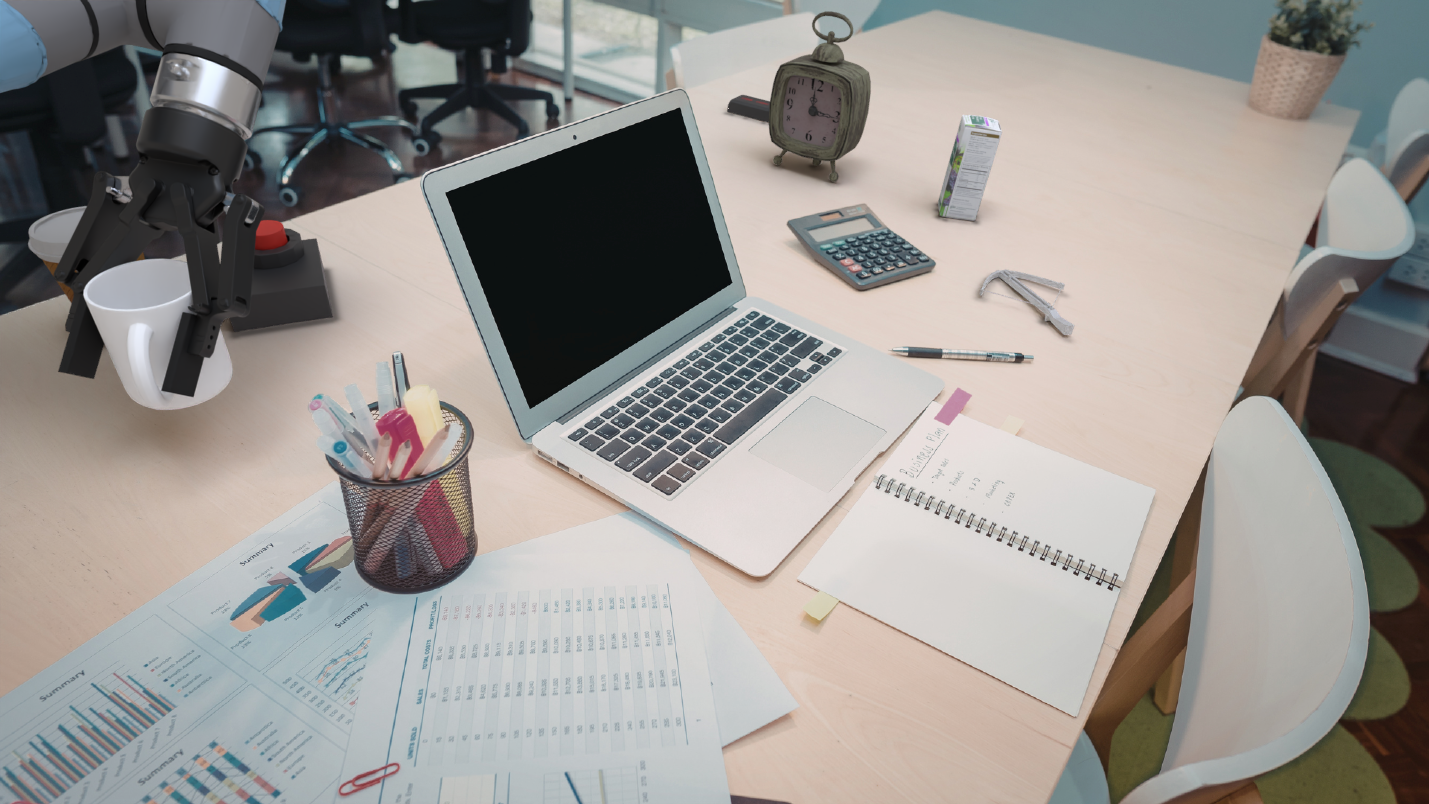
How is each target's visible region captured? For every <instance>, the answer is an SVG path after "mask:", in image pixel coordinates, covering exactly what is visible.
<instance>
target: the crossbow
mask: <svg viewBox="0 0 1429 804" xmlns="http://www.w3.org/2000/svg"><path fill="white" fill-rule="evenodd" d="M997 278H999V279H1001V280H1002V281H1004V282H1005V283H1006V284H1007V285H1009V286H1010V287H1011V288H1012V289H1013V290H1015V291H1016V292H1017V293H1019V294H1020V295H1021V296H1022V297H1023V298H1024V299H1026V300H1027V301H1025V300H1021V299H1019V298H1015V297H1010V296H1009V295H1004V294H1000V293H996V292H993V291H989V290H985V289H986V287H987V286H988V284H989V283H990V282H991V281H992V280H994V279H997ZM1019 279H1022V280H1027V281H1031V282H1035V283H1038V284H1041V285H1046V286H1049V287H1052V288H1054V289H1057V290H1058V289H1059V291H1058V293H1057V296H1056V298H1055V299H1054V302H1053V303H1052V305H1051V303H1050V302H1048V301H1047V300H1045V298H1042V297H1041V296H1040V295H1039V294H1037V293H1036V292H1035V291H1033V290H1032V288H1029V287H1028V286H1027V285H1026V284H1025V283H1023V282H1022V281H1020V280H1019ZM1065 286H1066V284H1065V283H1063V282H1058V281H1055V280H1052V279H1049V278H1045V277H1042V276H1038V275H1034V274H1030V273H1026V272H1021V271H1018V270H1010V269H1000V270H999V269H997V270H995V271H993V272H991V273H990V274H989V275H988V276H987V277H986V279H985V280H984V282H983V284H982V288H980V290H979V296H983V294H984V292H986V293H991V294H995V295H997V296H1001V297H1004V298H1009V299H1012V300H1016V301H1020V302H1023V303H1026V304H1031V305H1033V306H1034V307H1036V308H1037V309H1038V310H1040V311H1041V312H1042V313H1043V314H1045V315H1044V322H1051V324H1053V325H1054V327H1055V328H1056V329H1057V330H1058V331H1059V332H1060V333H1061V334H1062V335H1063V336H1069V335H1070V336H1071V335H1072V334H1073V332H1074V328H1075V324H1074V323H1072V322H1070V321H1068V320H1067V319H1065V318H1064V317H1062V316H1061V315H1060V313H1059V311H1058V310H1057V309H1056V308H1054V305H1055V303H1056V301H1057V299H1058V297H1059V295H1060V293H1061V291H1062V290H1064V288H1065Z"/></svg>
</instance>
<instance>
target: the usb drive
mask: <svg viewBox="0 0 1429 804" xmlns="http://www.w3.org/2000/svg"><path fill="white" fill-rule="evenodd" d="M769 106H770V100H767V99H763V98H758V97H754V96H750V95H747V94H740V95H738V96H736V97H734V98H731V100H729V102H728V104H727V110H726V111H727V113H731V114H734V115H737V116H740V117H741V116H742V117H746V118H749V119H753V120H757V121H760V122H764V123H769ZM728 108H729V109H728Z"/></svg>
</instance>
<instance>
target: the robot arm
mask: <svg viewBox="0 0 1429 804" xmlns="http://www.w3.org/2000/svg"><path fill="white" fill-rule="evenodd" d="M286 4H287V0H0V94H1V93H5V92H8V91H12V90H19V89H23V88H26V87H28V86H30V85H32V84H35V83H36V82H37V81H38V80H39V79H41V78H42V77H46V76H47V75H49V74H52V73H54V72H57V71H59V70H61V69H63V68H66V67H68V66H70V65H72V64H77V63H79V62H82V61H85V60H87V59H90V58H93V57H95V56H98V55H101V54H103V53H106V52H108V51H111V50H113V49H115V48H118V47H120V46H134V47H138V48H143V49H148V50H152V51H156V52H162V54H161V57H160V62H159V66H158V69H157V72H156V77H155V79H154V83H153V86H152V91H151V94H150V97H149V102H150V103H151V105H152V107H150V108H148V109H146V110H145V111H144V115H143V117H142V122H141V126H140V129H139V132H138V136H137V140H136V143H135V146H136V150H137V153H138V157H139V159H138V160H139V161H138V163H137V165H136V166H135V168H134V169H133V170H132V171H131V173H130V174H129V175H113V174H111V173H108V172H107V171H104V170H99V171H97V172H95V174H94V176H93V181H92V190H91V197H90V199H89V201H88V203H87V205H86V206H87V207H86V209H85V211H84V213H83V215H82V217H81V219H80V221H79V223H78V225H77V227H76V229H75V231H74V233H73V235H72V237H71V239H70V241H69V243H68V245H67V247H66V249H65V251H64V253H63V255H62V257H61V260H60V262H59V264H58V266H57V268H56V270H55V272H54V276H53V279H54V280H55V282H57V281H58V282H61V283H63V284H65V285H66V286H68V287H69V288H71V289H72V290H73V293H74V296H73V300H72V304H71V303H70V307H69V311H68V314H67V318H66V322H65V324H64V326H65V332H68V336H67V340H66V343H65V346H64V350H63V354H62V357H61V360H60V363H59V367H58V370H57V372H58V373H61V374H67V375H72V376H77V377H82V378H87V379H92V380H95V378H96V375H97V370H98V368H99V364H100V360H101V357H102V353H103V349H104V347H105V344H104V341H103V339H102V337H101V335H100V332H99V330H98V328H97V326H96V323H95V321H94V319H93V317H92V314H91V312H90V310H89V308H88V305H87V303H86V301H85V299H84V295H83V294H84V289H85V286H86V285H87V283H88V282H89V281H90V280H91V279H93V278H94V277H95V276H97V275H98V274H100V273H102V272H104V271H106V270H108V269H111V268H113V267H116V266H118V265H122V264H125V263H129V262H134V261H136V260H137V259H138V258H139V256H140V255H141V254H142V252H143V253H144V251H145V250H146V249H147V248H148V246H149V245H150V244H151V242H153V240H157V239H160V238H161V237H162V236H163V234H164V233H165V232H167V231H169V232H175V231H178V233H179V235H180V236H181V238H182V239H183V247H184V251H185V257H186V262H187V265H188V272H189V278H190V285H191V292H192V298H193V305H191V307H190V306H188V309H189V310H190V311H192V312H195V313H197V315H194V314H191V313H186V312H183V313H182V316H181V320H180V324H179V327H178V331H177V335H176V338H175V342H174V345H173V349H172V353H171V356H170V360H169V364H168V367H167V371H166V375H165V378H164V382H163V386H162V389H161V391H165V392H169V393H174V394H179V395H184V396H189V397H194V394H195V390H196V387H197V383H198V379H199V375H200V372H201V368H202V364H203V361H204V357H206V358H210V357H211V356H212V354H213V353H214V349H215V345H216V341H217V338H218V335H219V331H220V329H221V327H222V324H223V323H224V321H226V320H228V319H230V318H231V317H236V316H239V317H246V316H247V315H248V314H249V313H250V306H251V293H252V280H253V268H254V255H255V242H256V231H257V229H258V226H259V224H260V222H261V221H262V219H263V217H264V215H265V212H266V210H265V206H264V205H263V204H261V203H259V202H258V201H257V200H255V199H253V198H251V197H249V196H248V195H247V194H245V193H242V192H241V193H240V192H239V193H236V194H235V193H234V187H233V184H235V183H237V182H238V181H239V180H240V178H241V174H242V171H243V167H244V163H245V160H246V156H247V152H248V148H249V147H248V144H247V143H246V140H249V139H251V138H252V136H253V132H254V129H255V124H256V120H257V116H258V113H259V108H260V105H261V101H262V97H263V95H262V94H263V91H264V87H265V81H266V78H267V76H268V75H267V74H268V72H269V68H270V65H271V62H272V58H273V54H274V51H275V47H276V44H277V41H278V37H279V34H280V33H281V32H282V31H283V29H284V27H283V20H284V14H285V9H286ZM224 213H225V217H224V220H223V221H224V222H223V226H222V227H223V229H222V238H221V239H222V240H221V239H220V231H219V225H218V218H219V217H220V216H221V215H222V214H224ZM141 218H142V219H143V220H142V219H141ZM220 242H221V251H220V254H219V248H218V247H219V246H218V244H220ZM75 270H76V271H77V272H75ZM58 282H57V283H58Z"/></svg>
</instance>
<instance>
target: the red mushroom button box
mask: <svg viewBox="0 0 1429 804" xmlns="http://www.w3.org/2000/svg"><path fill="white" fill-rule="evenodd" d="M284 230H285V234H286V237H287V241H288V243H286V244H285V245H284V246H281V247H278V248H276V249H270V250H255V255H254V268H253V280H252V293H251V306H250V313H249V314H248V315H247V316H246V317H239V316H236V317H231V318H229V321H230V323H231V326H232V329H233V333H237V332H245V331H253V330H257V329H258V330H259V329H265V328H270V327H277V326H284V325H289V324H297V323H304V322H310V321H317V320H323V319H330V318H333V317H334V316H333V310H332V305H331V300H330V299H331V298H330V294H329V289H328V283H327V279H326V278H327V277H326V273H325V268H324V264H323V261H322V260H323V259H322V255H321V250H320V247H319V243H318V239H317V238H316V237H315V238H307V239H302V236H301V233H299V232H298V231H296V230H294V229H292V228H285V227H284Z"/></svg>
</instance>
